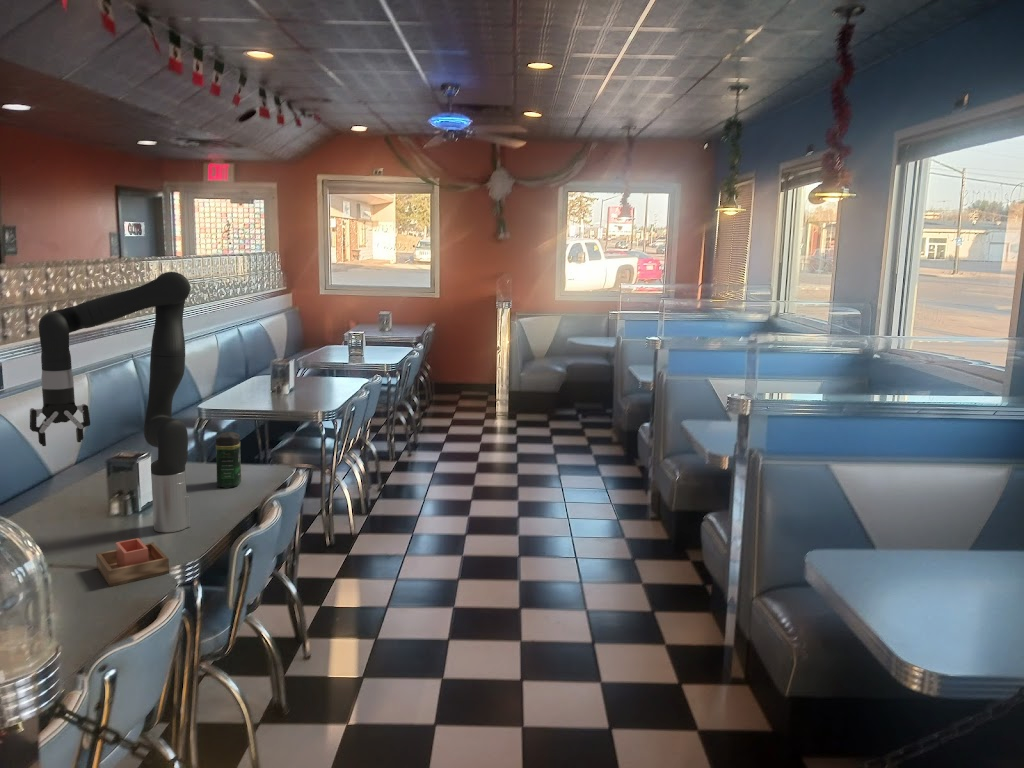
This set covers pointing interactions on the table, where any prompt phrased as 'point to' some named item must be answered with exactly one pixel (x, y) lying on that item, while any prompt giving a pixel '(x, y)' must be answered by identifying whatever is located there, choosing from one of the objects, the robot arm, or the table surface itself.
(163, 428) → the robot arm
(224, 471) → the coffee jar
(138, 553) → the red open box
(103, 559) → the wooden crate
